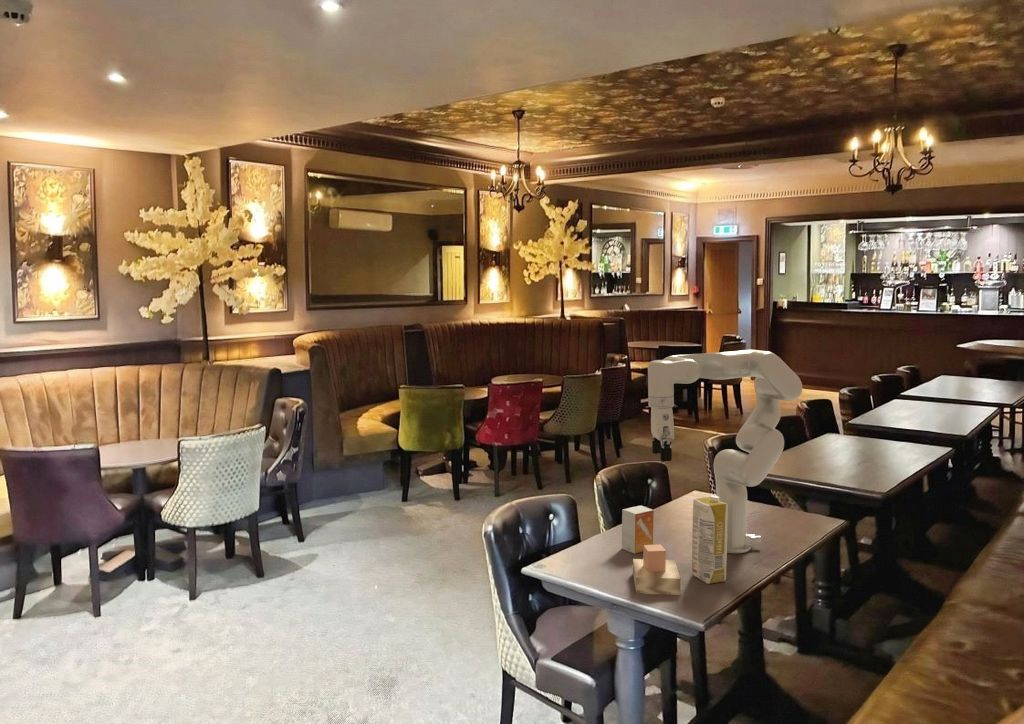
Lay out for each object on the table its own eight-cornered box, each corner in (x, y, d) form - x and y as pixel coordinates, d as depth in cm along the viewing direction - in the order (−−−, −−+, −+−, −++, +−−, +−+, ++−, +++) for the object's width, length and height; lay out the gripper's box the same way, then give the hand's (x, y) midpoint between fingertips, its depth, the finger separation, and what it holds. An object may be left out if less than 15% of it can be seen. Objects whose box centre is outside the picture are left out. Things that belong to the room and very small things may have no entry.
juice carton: (730, 582, 215) (732, 499, 213) (706, 586, 213) (708, 502, 210) (710, 570, 224) (712, 491, 222) (687, 574, 221) (689, 494, 219)
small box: (634, 554, 238) (635, 514, 237) (621, 548, 243) (621, 509, 242) (653, 549, 242) (654, 509, 241) (639, 543, 248) (640, 504, 246)
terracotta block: (660, 564, 217) (660, 544, 216) (665, 571, 212) (665, 550, 211) (643, 565, 216) (643, 545, 216) (648, 572, 212) (648, 551, 211)
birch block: (674, 576, 221) (674, 560, 221) (680, 596, 207) (680, 578, 207) (632, 575, 222) (632, 558, 222) (635, 594, 208) (636, 577, 208)
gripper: (681, 405, 220) (682, 463, 222) (665, 396, 237) (666, 449, 239) (656, 407, 219) (656, 464, 221) (642, 397, 237) (642, 451, 239)
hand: (661, 457), depth 230 cm, fingers open, 9 cm apart
